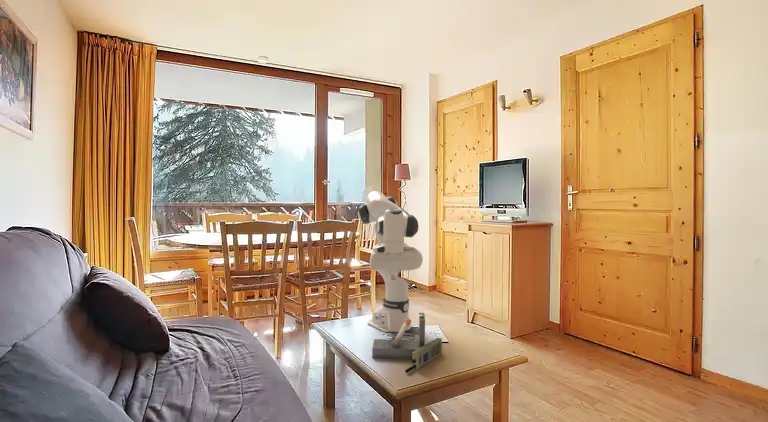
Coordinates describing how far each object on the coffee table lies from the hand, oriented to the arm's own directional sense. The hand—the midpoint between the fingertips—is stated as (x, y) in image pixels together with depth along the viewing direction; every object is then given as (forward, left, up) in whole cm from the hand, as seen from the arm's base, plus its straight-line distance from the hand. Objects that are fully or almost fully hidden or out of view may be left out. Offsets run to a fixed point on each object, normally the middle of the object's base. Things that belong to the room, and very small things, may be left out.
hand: (393, 279), depth 172 cm
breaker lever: (+5, -4, -26) cm, 26 cm away
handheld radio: (+19, -3, -30) cm, 36 cm away
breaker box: (+6, -3, -30) cm, 30 cm away
